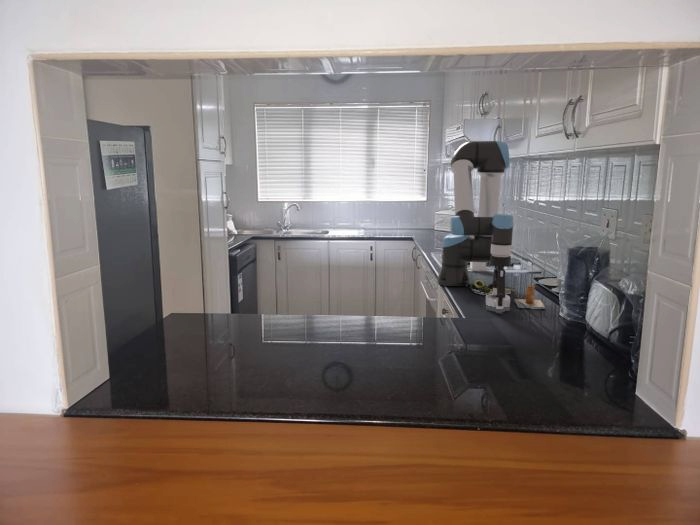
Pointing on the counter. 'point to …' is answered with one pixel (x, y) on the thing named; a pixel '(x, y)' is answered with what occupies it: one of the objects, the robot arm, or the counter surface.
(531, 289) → the keeper
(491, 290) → the salad plate
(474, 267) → the medicine bottle
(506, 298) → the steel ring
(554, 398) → the counter surface
